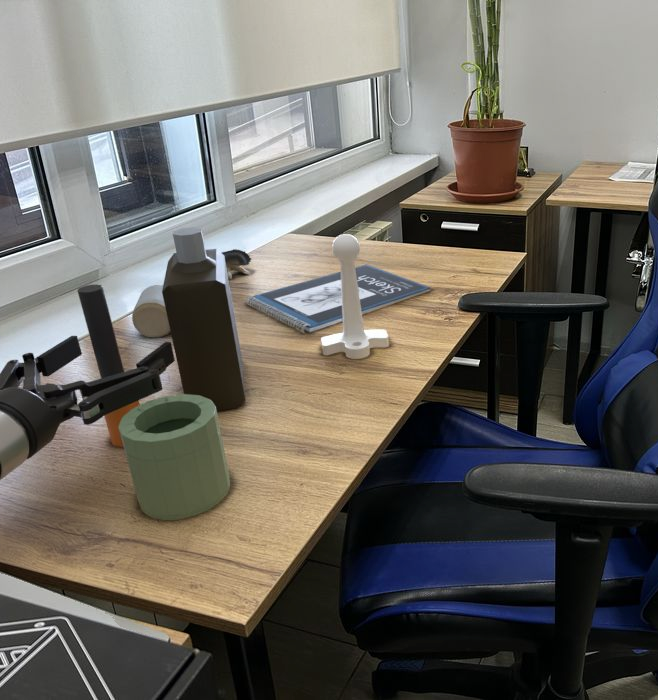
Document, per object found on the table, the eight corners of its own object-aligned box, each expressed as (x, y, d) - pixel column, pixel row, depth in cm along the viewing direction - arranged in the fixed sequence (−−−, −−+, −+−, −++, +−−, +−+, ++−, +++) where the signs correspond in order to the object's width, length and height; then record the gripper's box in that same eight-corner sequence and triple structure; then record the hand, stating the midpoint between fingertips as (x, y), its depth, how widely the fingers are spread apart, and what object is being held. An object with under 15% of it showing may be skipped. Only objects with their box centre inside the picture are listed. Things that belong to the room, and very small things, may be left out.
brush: (105, 448, 94) (61, 293, 85) (125, 430, 98) (85, 281, 89) (135, 450, 93) (94, 295, 84) (154, 433, 97) (117, 282, 88)
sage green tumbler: (122, 518, 81) (98, 436, 76) (170, 466, 90) (152, 391, 85) (204, 527, 79) (185, 444, 75) (245, 474, 88) (231, 397, 84)
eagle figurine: (214, 282, 148) (255, 268, 151) (200, 252, 148) (242, 237, 151) (215, 291, 155) (255, 276, 158) (202, 261, 155) (241, 248, 158)
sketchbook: (431, 293, 144) (430, 284, 144) (305, 337, 125) (304, 327, 125) (366, 269, 158) (365, 260, 157) (244, 305, 139) (243, 295, 138)
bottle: (243, 363, 116) (217, 214, 105) (246, 410, 102) (217, 244, 92) (191, 371, 114) (160, 219, 103) (188, 420, 100) (151, 251, 89)
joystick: (385, 338, 124) (377, 227, 116) (393, 356, 118) (385, 240, 109) (321, 346, 122) (308, 234, 113) (325, 365, 115) (312, 247, 106)
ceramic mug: (134, 342, 124) (125, 301, 121) (144, 324, 132) (136, 285, 128) (197, 337, 126) (190, 297, 123) (203, 319, 134) (197, 281, 130)
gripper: (-88, 453, 78) (47, 367, 97) (115, 474, 74) (215, 379, 93) (-114, 394, 75) (31, 316, 93) (98, 412, 71) (205, 327, 89)
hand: (123, 347), depth 93 cm, fingers open, 13 cm apart
